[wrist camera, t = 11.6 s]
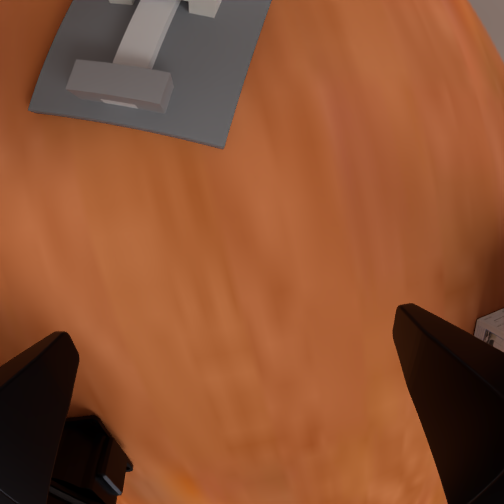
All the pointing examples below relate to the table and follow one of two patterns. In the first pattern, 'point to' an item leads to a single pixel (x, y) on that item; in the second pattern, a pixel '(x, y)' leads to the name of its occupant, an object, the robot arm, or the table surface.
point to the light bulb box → (491, 329)
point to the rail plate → (151, 66)
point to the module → (200, 3)
